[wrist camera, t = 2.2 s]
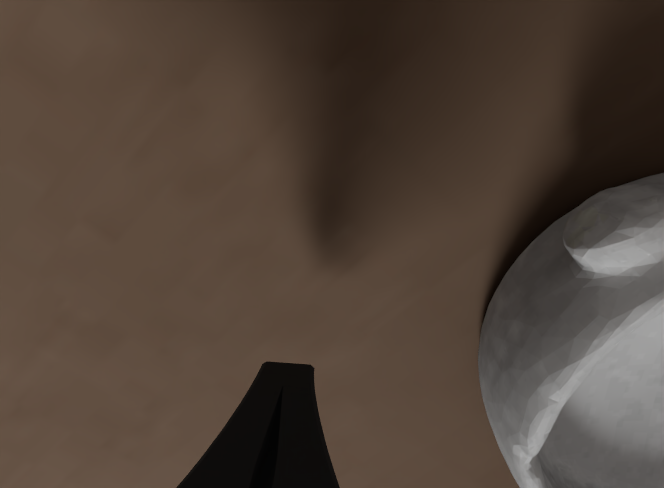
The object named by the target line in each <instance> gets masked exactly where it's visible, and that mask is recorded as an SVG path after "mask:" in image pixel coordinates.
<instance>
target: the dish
mask: <svg viewBox="0 0 664 488" xmlns="http://www.w3.org/2000/svg"><path fill="white" fill-rule="evenodd" d="M478 367H479V380H480V386H481V392H482V398H483V401H484V405H485V408H486V412H487V416H488V419H489V422H490V424H491V427H492V430H493V432H494V435H495V438H496V440H497V443H498V445H499V448H500V450H501V452H502V454H503V456H504V458H505V461H506V463H507V465H508V467H509V469H510V471H511V473H512V475H513V477H514V478H515V480H516V482H517V483H518V485H519V487H520V488H664V173H660V174H656V175H652V176H648V177H644V178H641V179H638V180H635V181H632V182H629V183H626V184H623V185H620V186H617V187H614V188H607V189H605V190H603V191H600V192H598V193H597V194H595V195H593V196H592V197H590V198H588V199H587V200H586V201H584V202H583V203H582V204H581V205H579V206H578V207H576V208H575V209H573V210H572V211H570V212H569V213H567V214H566V215H564V216H562V217H561V218H559V219H558V220H556V221H555V222H554V223H553V224H552V225H550V226H549V227H548V228H547V229H546V230H545V231H544V232H542V233H541V234H540V235H539V236H538V237H537V238H536V239H535V240H534V241H533V242H532V243H531V244H530V245H529V246H528V247H527V248H526V249H525V250H524V251H523V252H522V253H521V254H520V255H519V257H518V258H517V259H516V261H515V262H514V263H513V265H512V266H511V267H510V269H509V270H508V271H507V273H506V274H505V276H504V278H503V279H502V281H501V283H500V284H499V286H498V288H497V289H496V291H495V293H494V295H493V297H492V299H491V301H490V304H489V306H488V308H487V312H486V315H485V318H484V321H483V324H482V328H481V335H480V343H479V352H478Z"/></svg>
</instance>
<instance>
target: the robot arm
mask: <svg viewBox="0 0 664 488" xmlns="http://www.w3.org/2000/svg"><path fill="white" fill-rule="evenodd" d="M177 488H340V487H339V484H338V481H337V478H336V475H335V472H334V469H333V466H332V463H331V459H330V456H329V453H328V449H327V446H326V442H325V438H324V434H323V430H322V426H321V422H320V418H319V413H318V408H317V401H316V395H315V387H314V368H313V367H312V366H311V365H307V364H293V363H279V362H265V363H264V364H262V366H261V368H260V370H259V372H258V374H257V376H256V378H255V380H254V381H253V383H252V385H251V387H250V388H249V390H248V392H247V393H246V395H245V396H244V398H243V400H242V401H241V403H240V404H239V406H238V407H237V409H236V410H235V412H234V413H233V415H232V416H231V418H230V419H229V421H228V422H227V424H226V425H225V427H224V428H223V429H222V431H221V432H220V434H219V435H218V436H217V438H216V439H215V440H214V441H213V443H212V444H211V445H210V447H209V448H208V449H207V451H206V452H205V453H204V455H203V456H202V457H201V459H200V460H199V461H198V462H197V464H196V465H195V466H194V467H193V469H192V470H191V471H190V472H189V473H188V475H187V476H186V477H185V478H184V479H183V481H182V482H181V483H180V484H179V485H178V486H177Z"/></svg>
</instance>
